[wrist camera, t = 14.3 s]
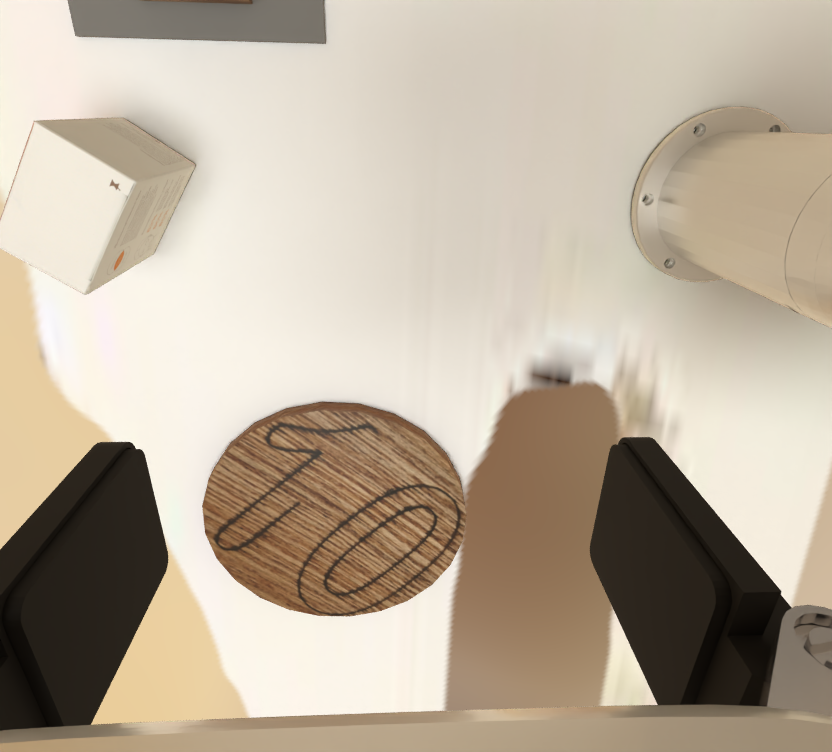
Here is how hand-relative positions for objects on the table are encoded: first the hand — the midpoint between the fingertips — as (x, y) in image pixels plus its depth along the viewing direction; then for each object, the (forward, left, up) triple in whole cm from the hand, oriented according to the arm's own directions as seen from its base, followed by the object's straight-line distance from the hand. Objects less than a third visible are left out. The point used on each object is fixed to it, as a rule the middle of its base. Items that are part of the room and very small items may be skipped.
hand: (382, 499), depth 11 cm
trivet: (+5, +28, -34) cm, 44 cm away
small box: (+18, -2, -34) cm, 38 cm away
